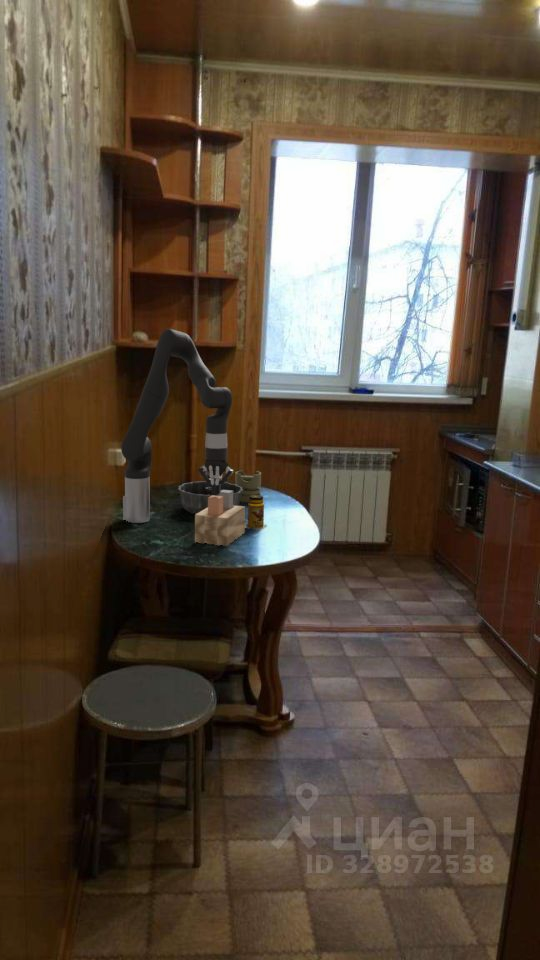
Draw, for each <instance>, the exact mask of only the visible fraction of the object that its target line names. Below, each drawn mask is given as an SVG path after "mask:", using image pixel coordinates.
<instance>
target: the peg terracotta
mask: <svg viewBox="0 0 540 960" xmlns="http://www.w3.org/2000/svg"><path fill="white" fill-rule="evenodd" d="M222 514H223V496H214V495H212V496H210V497H209V498H208V515H214V516H220V515H222Z"/></svg>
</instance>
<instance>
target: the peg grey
mask: <svg viewBox="0 0 540 960" xmlns="http://www.w3.org/2000/svg"><path fill="white" fill-rule="evenodd" d="M219 496H223V509H229V510H230V509H231V508H233V491H231V490H222V491H221V492H220V494H219Z"/></svg>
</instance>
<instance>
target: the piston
mask: <svg viewBox="0 0 540 960" xmlns="http://www.w3.org/2000/svg"><path fill="white" fill-rule="evenodd" d="M234 472H235V473H234V474H235V476H234V477H235V479H234V484H236V485H237V486H240V487H242V490H243V492H242V494H241V499H240V501H242V502H241V503H249V500H250V498H249V497H250V496H251V495H261V492H262V490H261V486H262V472H261V471H259V470H256V471H255V473H254V474H253V475H247V474H246V473H245V472H244V470H237V471H234ZM261 496H262V495H261Z"/></svg>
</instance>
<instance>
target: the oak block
mask: <svg viewBox="0 0 540 960" xmlns="http://www.w3.org/2000/svg"><path fill="white" fill-rule="evenodd" d="M245 523H246V506H243V505H239V506H235V505H233V508H231V509H230V510H229V509H223V514H222V515H220V516H214V515H208V508H206V509H204V510H202V511H201V512H199V513H197V514H195V515H194V543H196V542H198V544H204V543H207V544H206V545H212V544H214V546H220V545H223V546H222V547H228V546H229V545H231V544H232V543H233V542H235V541H236V540H237V539H239V538H240V537H241V536H243V535H244V534H245V533H246V530H245V529H246V528H245ZM242 534H243V535H242ZM238 537H239V538H238ZM235 539H236V540H235ZM234 540H235V541H234ZM230 543H231V544H230Z"/></svg>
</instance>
